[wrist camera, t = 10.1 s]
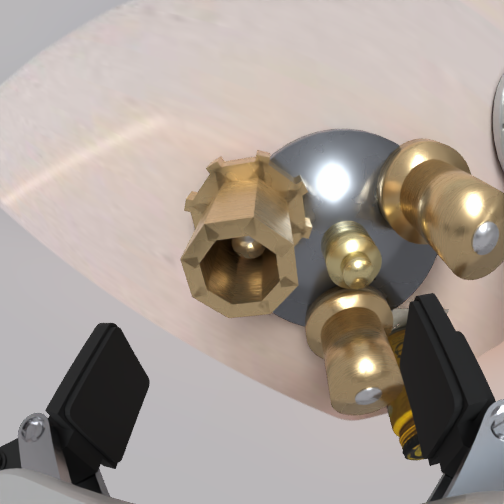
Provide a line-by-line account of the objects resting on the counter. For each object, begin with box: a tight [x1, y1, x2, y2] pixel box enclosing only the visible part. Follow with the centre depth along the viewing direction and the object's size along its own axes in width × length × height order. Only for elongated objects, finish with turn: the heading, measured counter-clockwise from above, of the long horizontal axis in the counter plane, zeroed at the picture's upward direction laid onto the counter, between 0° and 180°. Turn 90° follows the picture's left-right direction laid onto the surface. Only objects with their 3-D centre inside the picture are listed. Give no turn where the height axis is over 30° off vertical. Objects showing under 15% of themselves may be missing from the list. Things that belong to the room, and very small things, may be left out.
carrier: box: [232, 129, 504, 415], centre depth 19 cm, size 18×19×9 cm
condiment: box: [387, 308, 449, 460], centre depth 23 cm, size 7×8×12 cm
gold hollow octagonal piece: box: [181, 150, 312, 318], centre depth 18 cm, size 8×8×8 cm
